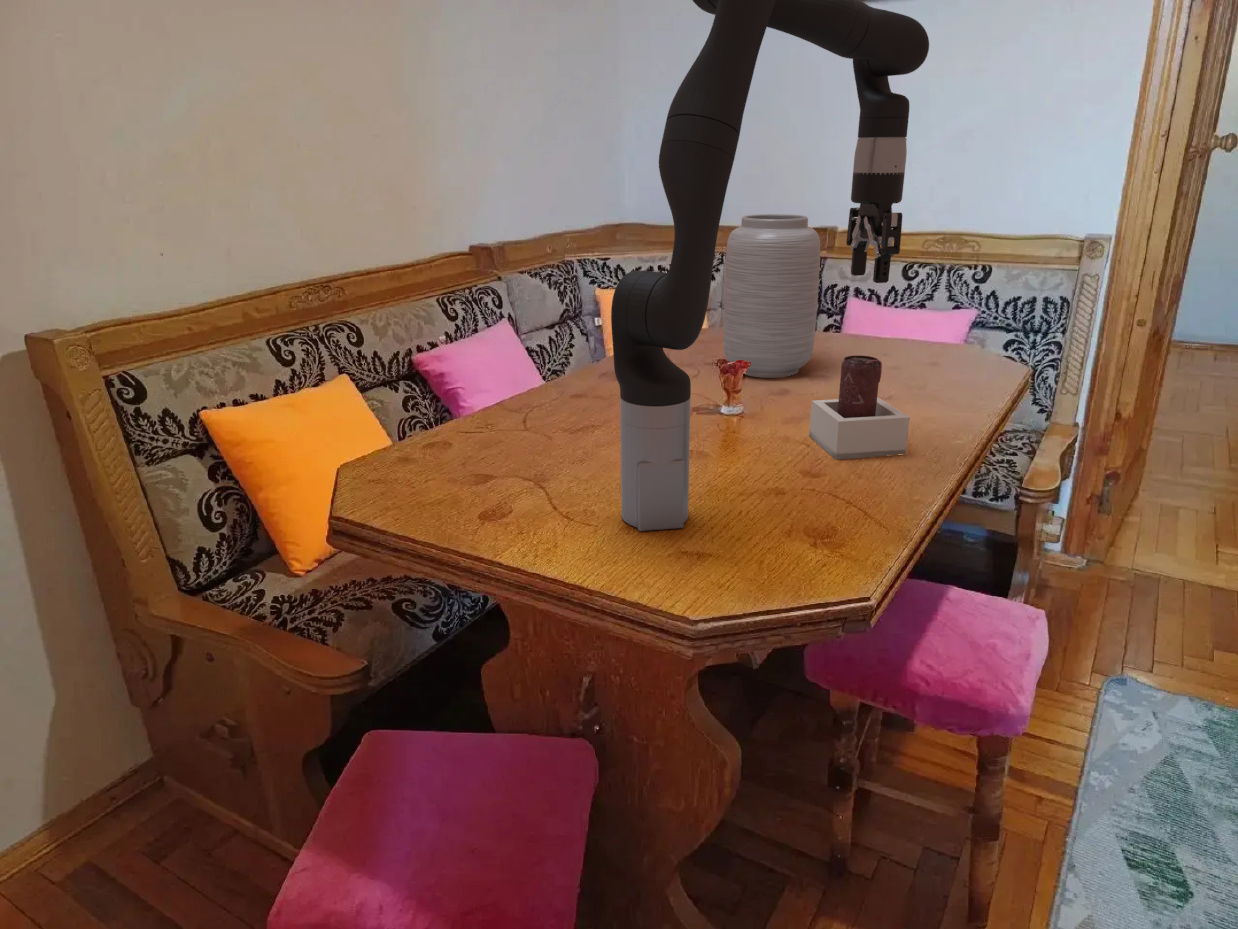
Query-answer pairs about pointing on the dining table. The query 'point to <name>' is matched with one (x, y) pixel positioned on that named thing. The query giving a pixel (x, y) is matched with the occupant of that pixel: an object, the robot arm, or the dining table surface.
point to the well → (858, 431)
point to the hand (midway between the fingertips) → (868, 278)
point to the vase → (771, 294)
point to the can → (859, 386)
